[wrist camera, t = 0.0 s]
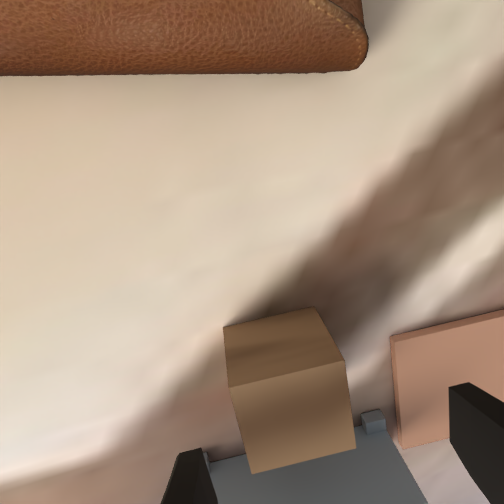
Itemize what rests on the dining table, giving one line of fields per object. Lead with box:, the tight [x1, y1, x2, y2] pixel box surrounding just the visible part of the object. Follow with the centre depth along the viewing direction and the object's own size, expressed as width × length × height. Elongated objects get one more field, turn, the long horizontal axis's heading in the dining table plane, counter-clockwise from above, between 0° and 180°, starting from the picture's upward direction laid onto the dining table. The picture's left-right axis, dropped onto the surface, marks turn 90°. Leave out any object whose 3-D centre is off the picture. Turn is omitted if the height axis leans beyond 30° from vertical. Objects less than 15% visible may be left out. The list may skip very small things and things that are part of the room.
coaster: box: [390, 309, 504, 449], centre depth 24 cm, size 8×8×1 cm
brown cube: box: [223, 306, 356, 474], centre depth 20 cm, size 5×5×5 cm
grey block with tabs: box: [203, 409, 428, 504], centre depth 22 cm, size 3×12×6 cm, turn 101°
